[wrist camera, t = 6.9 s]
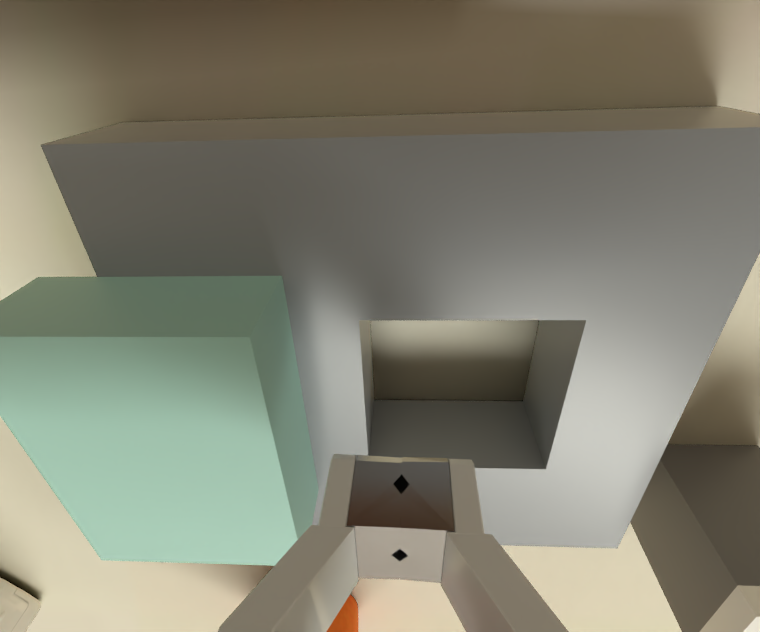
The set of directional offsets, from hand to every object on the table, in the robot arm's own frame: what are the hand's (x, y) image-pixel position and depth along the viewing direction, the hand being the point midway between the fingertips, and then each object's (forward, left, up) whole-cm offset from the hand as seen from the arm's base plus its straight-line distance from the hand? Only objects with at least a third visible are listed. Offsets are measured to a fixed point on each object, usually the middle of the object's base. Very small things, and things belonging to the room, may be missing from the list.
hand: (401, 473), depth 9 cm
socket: (0, +1, -6) cm, 6 cm away
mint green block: (+6, +1, -3) cm, 6 cm away
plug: (-12, +8, -6) cm, 15 cm away
